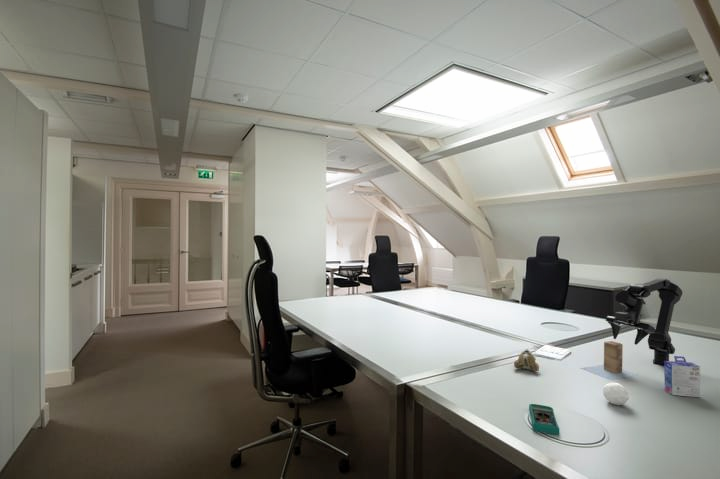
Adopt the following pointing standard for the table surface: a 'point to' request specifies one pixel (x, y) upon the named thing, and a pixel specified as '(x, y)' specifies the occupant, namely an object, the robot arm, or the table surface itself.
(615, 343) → the walnut block
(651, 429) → the table surface
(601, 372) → the desk pad
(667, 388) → the ink cartridge box
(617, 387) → the geometric ball
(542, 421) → the digital multimeter
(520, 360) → the ceramic sculpture
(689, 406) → the table surface
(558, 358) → the calculator
